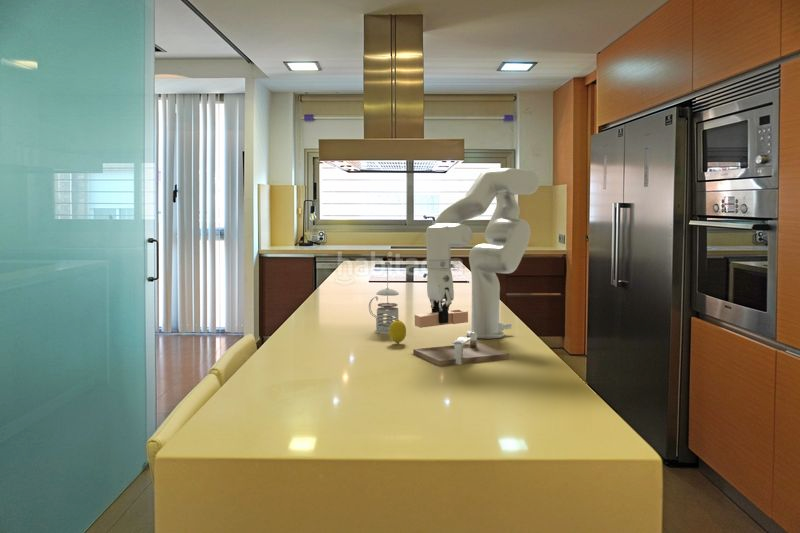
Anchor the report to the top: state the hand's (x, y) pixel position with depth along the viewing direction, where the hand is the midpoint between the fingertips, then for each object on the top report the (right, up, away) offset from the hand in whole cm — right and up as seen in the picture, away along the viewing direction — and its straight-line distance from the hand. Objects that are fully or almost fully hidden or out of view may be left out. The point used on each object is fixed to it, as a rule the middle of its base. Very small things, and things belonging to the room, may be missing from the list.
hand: (440, 321), depth 218 cm
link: (0, -1, 0) cm, 1 cm away
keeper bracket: (+5, -10, -21) cm, 24 cm away
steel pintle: (+10, -7, -9) cm, 15 cm away
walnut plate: (+5, -9, -14) cm, 18 cm away
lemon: (-14, -8, +4) cm, 16 cm away
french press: (-18, -6, +26) cm, 32 cm away
